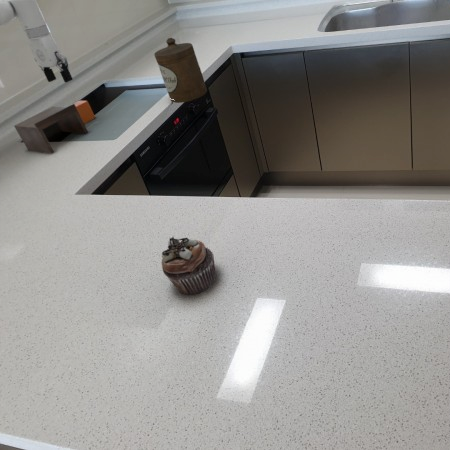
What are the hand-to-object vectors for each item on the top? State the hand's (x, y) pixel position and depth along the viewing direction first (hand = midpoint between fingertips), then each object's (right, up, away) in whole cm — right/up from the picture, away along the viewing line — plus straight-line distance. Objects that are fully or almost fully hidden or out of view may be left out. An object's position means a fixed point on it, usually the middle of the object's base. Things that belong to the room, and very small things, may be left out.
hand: (60, 80), depth 169 cm
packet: (+3, -13, +10) cm, 17 cm away
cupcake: (+68, -64, -80) cm, 123 cm away
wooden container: (+44, -2, +13) cm, 46 cm away
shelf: (+1, -23, -2) cm, 23 cm away
